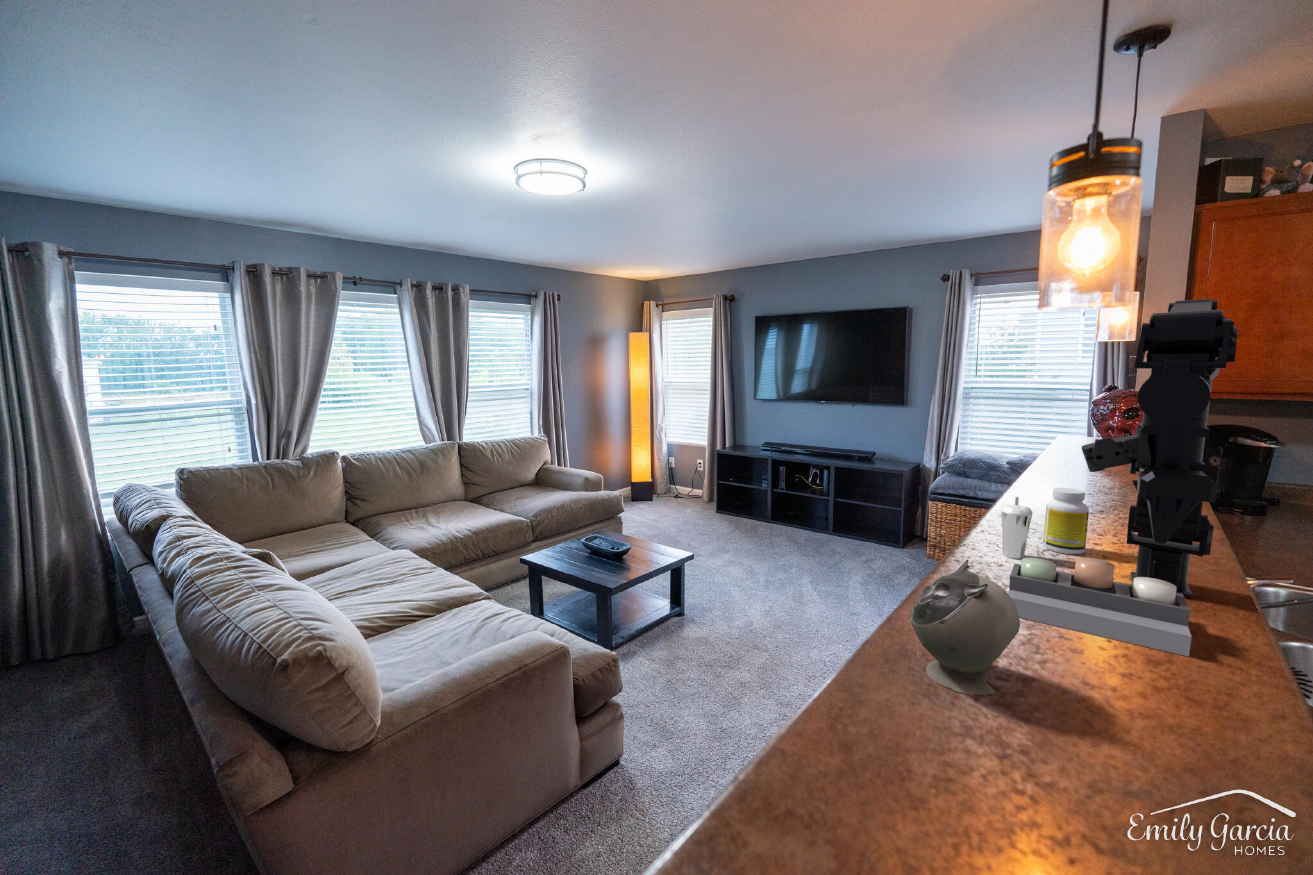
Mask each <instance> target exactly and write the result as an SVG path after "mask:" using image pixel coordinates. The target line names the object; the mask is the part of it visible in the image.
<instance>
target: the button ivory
mask: <svg viewBox="0 0 1313 875" xmlns="http://www.w3.org/2000/svg"><path fill="white" fill-rule="evenodd" d="M1176 588H1177V587H1176V586H1175V585H1174V584H1172V583H1169V582H1166V581H1163V580H1159V579H1155V578H1148V577H1136V578H1134V582H1133V590H1132V598H1137V599H1143V600H1148V601H1153V602H1158V603H1164V604H1169V605H1175V597H1176Z"/></svg>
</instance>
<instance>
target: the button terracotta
mask: <svg viewBox="0 0 1313 875" xmlns="http://www.w3.org/2000/svg"><path fill="white" fill-rule="evenodd" d="M1074 564H1075V565H1074V573H1073V574H1074V580H1075V581H1077V582H1078V583H1081V584H1083V585H1087V586H1091V587H1096V588H1111V587H1112V585H1113V581H1114V575H1115V564H1114V563H1112V562H1110V561H1106V560H1104V559H1099V558H1094V557H1088V556H1087V557H1083V556H1081V557H1077V558H1075V563H1074Z"/></svg>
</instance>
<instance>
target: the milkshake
mask: <svg viewBox="0 0 1313 875" xmlns="http://www.w3.org/2000/svg"><path fill="white" fill-rule="evenodd" d="M1019 499H1020V498H1019V497H1018V496H1015V499H1014V505H1013V504H1012V505H1011V504H1007V505H1005V506H1004V507H1002V508H1001V510H1000V512H1001V529H1002V531H1001V532H1002V533H1001V534H1002V535H1001V537H1002V538H1001V541H1002V546H1001V547H1002V556H1004V557H1006V558H1009V559H1012V560H1013V559H1015V560H1017V559H1018V560H1022V559H1023V558H1025V552H1026V547H1027V542H1028V537H1029V535H1028V534H1029V531H1030V527H1031V522H1032V518H1033V510H1032V509H1031V507H1028V506H1023V505H1019Z"/></svg>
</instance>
